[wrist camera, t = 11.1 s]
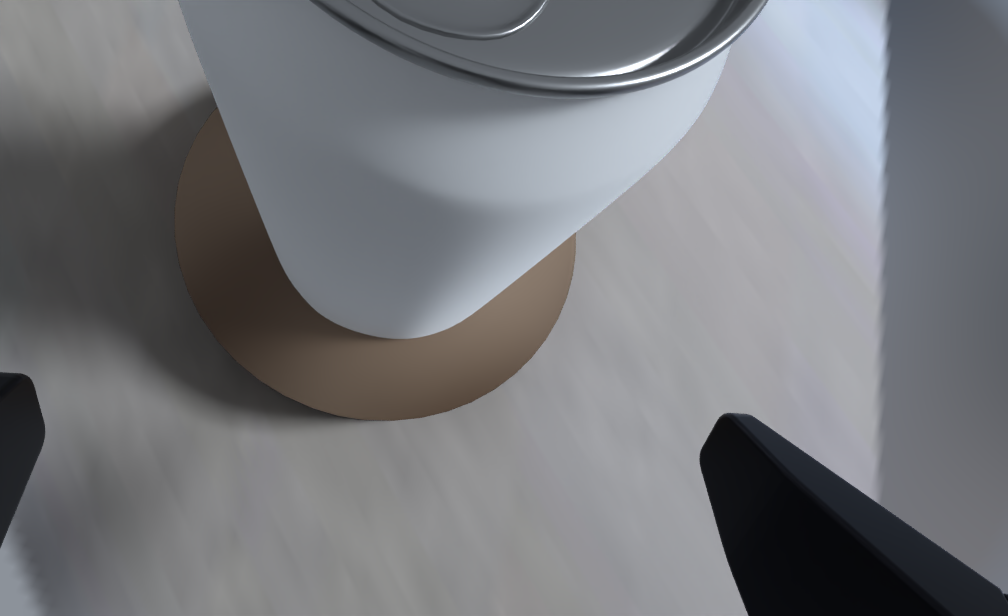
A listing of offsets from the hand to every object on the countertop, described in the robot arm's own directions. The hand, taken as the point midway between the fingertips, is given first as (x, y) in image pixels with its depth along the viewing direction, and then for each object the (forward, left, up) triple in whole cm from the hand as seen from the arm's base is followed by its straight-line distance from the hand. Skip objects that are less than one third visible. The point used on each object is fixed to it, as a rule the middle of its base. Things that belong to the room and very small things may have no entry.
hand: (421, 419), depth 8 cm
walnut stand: (+4, -4, -10) cm, 12 cm away
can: (+4, -4, -8) cm, 10 cm away
